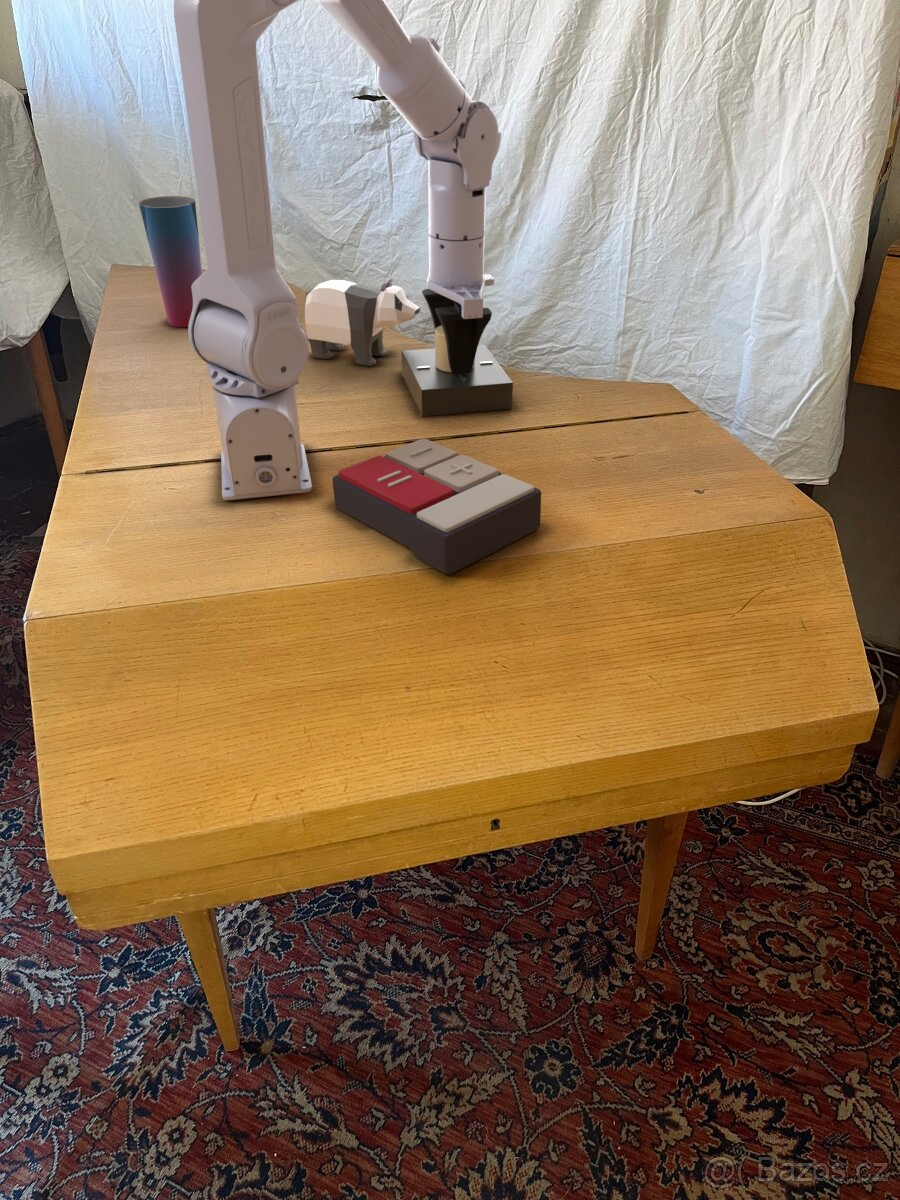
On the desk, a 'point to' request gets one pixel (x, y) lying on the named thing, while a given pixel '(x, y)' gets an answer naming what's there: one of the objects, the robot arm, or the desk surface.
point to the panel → (456, 384)
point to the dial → (442, 351)
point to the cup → (174, 252)
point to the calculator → (438, 503)
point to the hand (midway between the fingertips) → (455, 363)
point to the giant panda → (354, 317)
